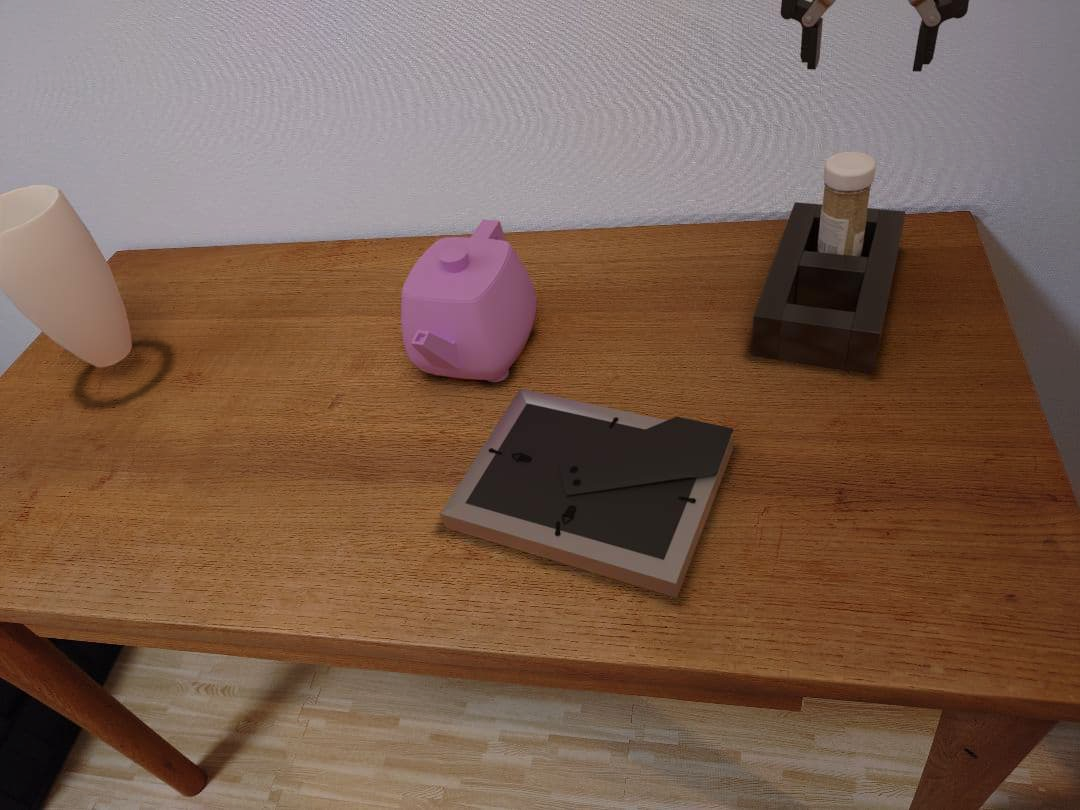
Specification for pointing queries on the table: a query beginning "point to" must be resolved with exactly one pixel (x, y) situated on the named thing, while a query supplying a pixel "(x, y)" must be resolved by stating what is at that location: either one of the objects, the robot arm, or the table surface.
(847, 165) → the spice jar
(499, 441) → the picture frame
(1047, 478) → the table surface
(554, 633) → the table surface
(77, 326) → the peach conical vase
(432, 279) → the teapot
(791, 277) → the holder
